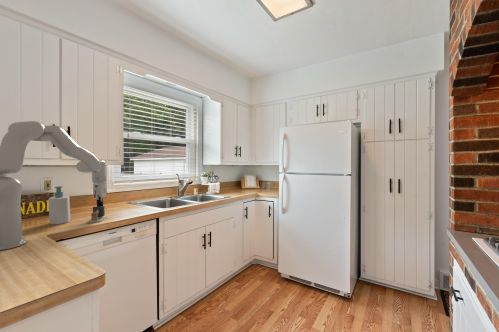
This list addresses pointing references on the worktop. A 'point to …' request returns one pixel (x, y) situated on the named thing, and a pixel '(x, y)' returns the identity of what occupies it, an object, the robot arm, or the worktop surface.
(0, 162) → the robot arm
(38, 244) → the worktop surface
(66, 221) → the soap bottle
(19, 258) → the worktop surface
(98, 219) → the pipe rig
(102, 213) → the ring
